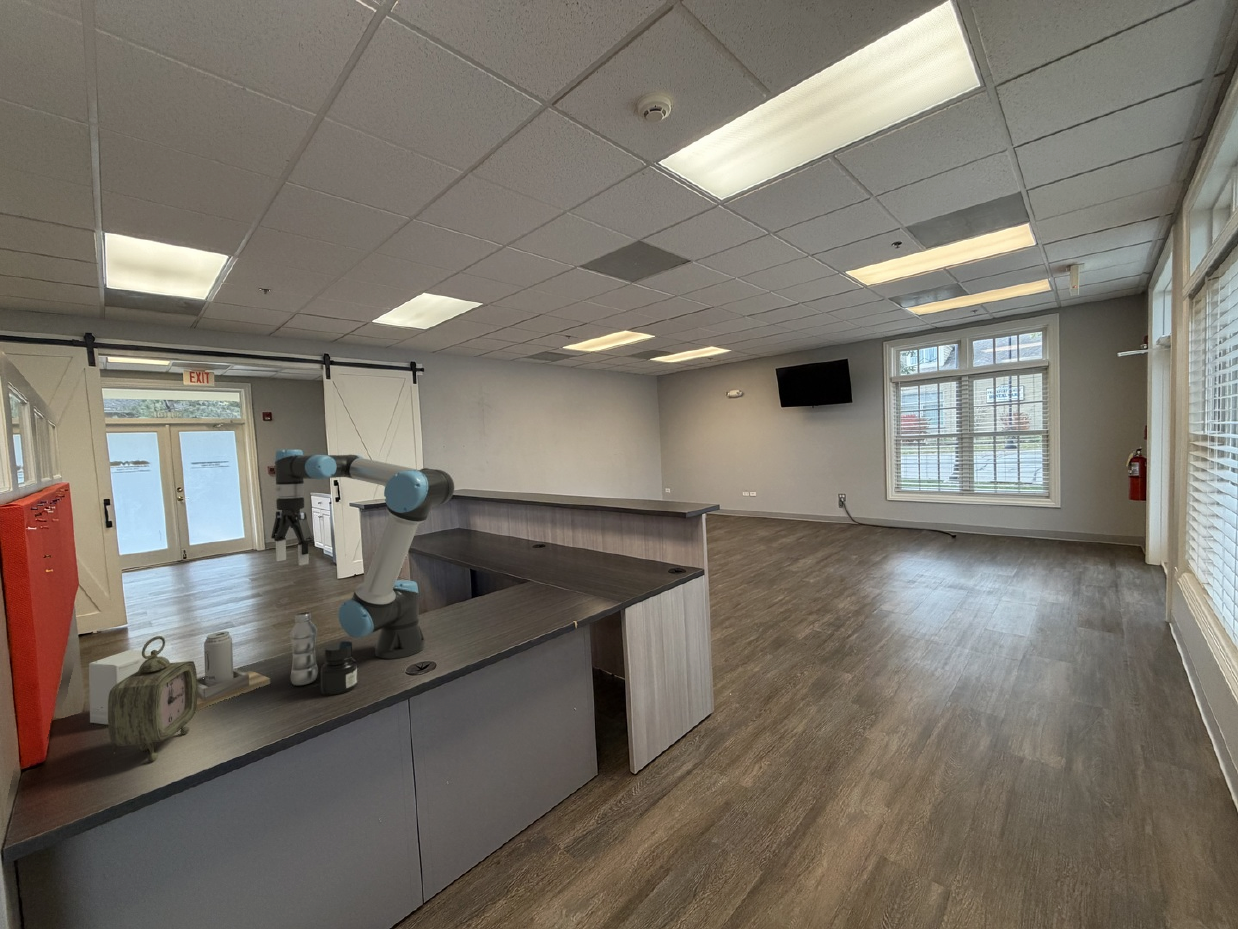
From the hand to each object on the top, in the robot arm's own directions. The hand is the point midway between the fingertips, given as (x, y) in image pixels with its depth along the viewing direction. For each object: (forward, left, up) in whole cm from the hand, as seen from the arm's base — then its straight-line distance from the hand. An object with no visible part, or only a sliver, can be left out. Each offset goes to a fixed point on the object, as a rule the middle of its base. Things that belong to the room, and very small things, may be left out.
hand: (292, 562), depth 161 cm
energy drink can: (-9, +24, -29) cm, 39 cm away
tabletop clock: (-27, +43, -31) cm, 59 cm away
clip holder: (-9, +24, -31) cm, 40 cm away
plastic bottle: (-23, +9, -31) cm, 40 cm away
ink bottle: (-35, +6, -31) cm, 47 cm away
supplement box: (-1, +41, -31) cm, 51 cm away
